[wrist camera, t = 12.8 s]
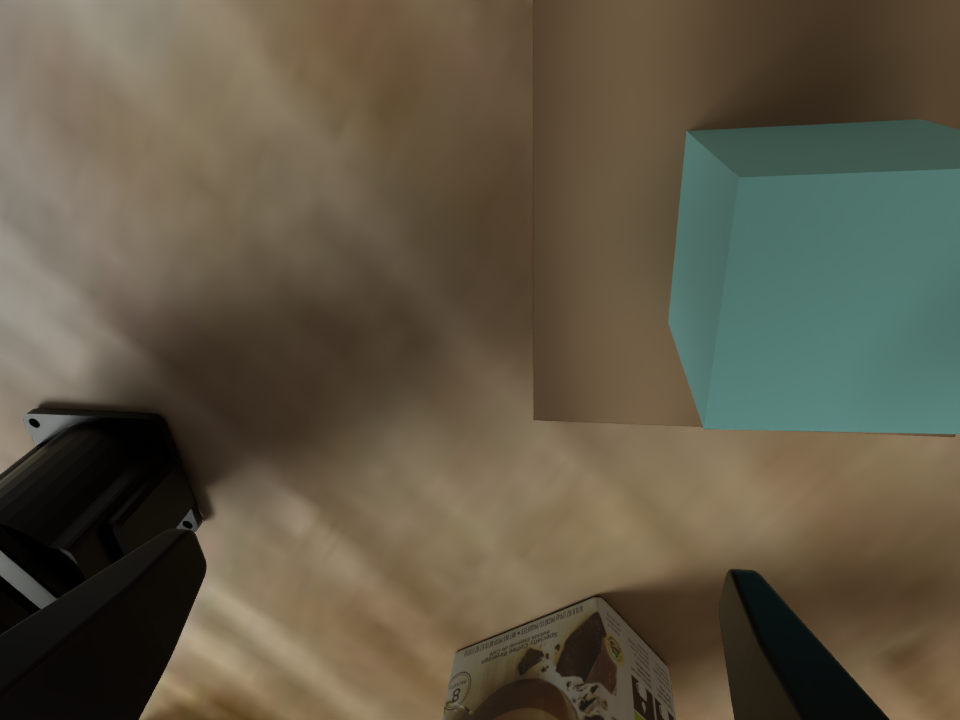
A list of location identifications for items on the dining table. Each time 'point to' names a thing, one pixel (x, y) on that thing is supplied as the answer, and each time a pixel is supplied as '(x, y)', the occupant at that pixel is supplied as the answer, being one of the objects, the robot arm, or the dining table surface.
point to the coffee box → (562, 672)
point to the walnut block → (660, 155)
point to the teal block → (821, 277)
